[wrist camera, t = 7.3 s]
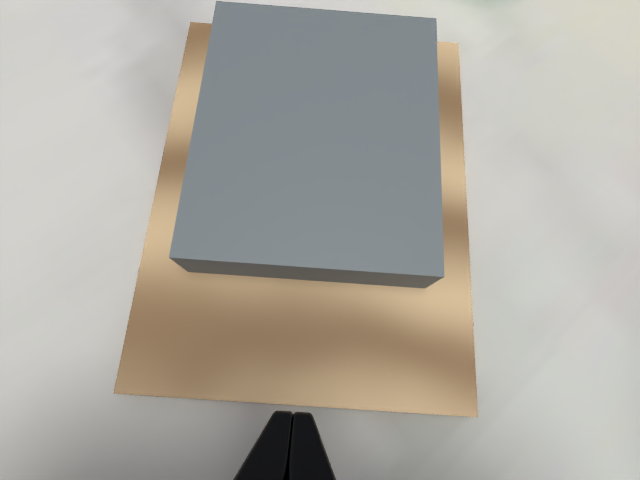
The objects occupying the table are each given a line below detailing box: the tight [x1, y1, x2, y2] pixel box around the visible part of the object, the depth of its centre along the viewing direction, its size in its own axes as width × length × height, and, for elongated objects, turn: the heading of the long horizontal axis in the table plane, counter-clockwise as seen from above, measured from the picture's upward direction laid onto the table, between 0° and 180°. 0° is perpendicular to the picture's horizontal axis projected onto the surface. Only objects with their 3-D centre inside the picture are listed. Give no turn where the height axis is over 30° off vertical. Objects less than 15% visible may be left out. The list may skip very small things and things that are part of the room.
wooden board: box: [114, 22, 478, 417], centre depth 18 cm, size 18×14×1 cm
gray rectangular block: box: [169, 1, 444, 288], centre depth 17 cm, size 2×10×12 cm
